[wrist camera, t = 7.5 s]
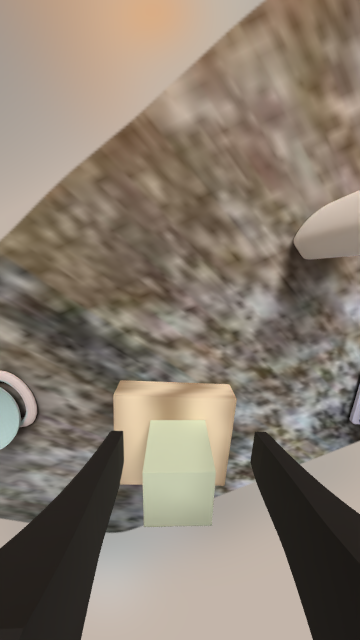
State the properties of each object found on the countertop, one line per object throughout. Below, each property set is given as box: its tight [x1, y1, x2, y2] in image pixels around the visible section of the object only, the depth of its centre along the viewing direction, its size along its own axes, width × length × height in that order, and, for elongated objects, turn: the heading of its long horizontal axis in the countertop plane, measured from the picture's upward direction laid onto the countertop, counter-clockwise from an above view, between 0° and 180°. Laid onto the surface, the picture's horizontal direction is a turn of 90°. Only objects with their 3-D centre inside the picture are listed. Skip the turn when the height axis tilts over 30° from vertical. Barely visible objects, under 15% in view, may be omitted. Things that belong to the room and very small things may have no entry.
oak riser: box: [114, 380, 237, 485], centre depth 21 cm, size 11×10×3 cm
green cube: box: [142, 420, 216, 527], centre depth 17 cm, size 5×5×5 cm
